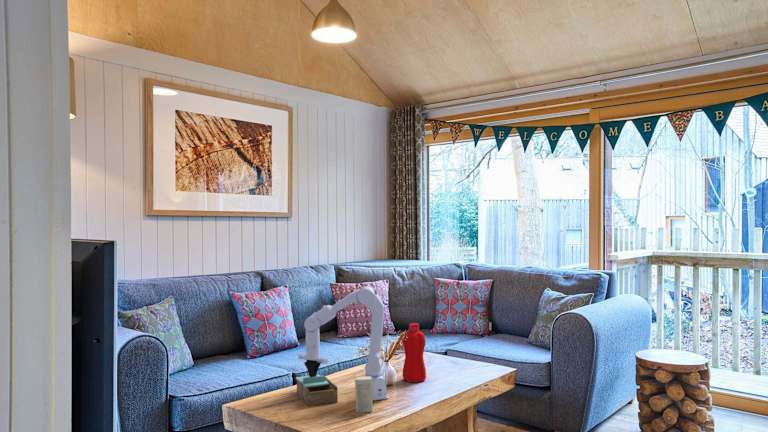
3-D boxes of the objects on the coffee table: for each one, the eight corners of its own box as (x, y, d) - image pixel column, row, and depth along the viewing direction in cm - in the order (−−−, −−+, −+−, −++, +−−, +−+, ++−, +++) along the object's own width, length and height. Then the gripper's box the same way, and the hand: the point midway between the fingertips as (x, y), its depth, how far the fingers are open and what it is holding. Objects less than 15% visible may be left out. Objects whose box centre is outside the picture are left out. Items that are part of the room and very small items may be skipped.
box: (337, 402, 225) (337, 386, 225) (307, 406, 220) (307, 390, 220) (325, 390, 239) (325, 376, 239) (296, 394, 235) (296, 379, 235)
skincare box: (372, 408, 217) (372, 375, 217) (372, 412, 213) (372, 379, 213) (355, 408, 217) (355, 376, 217) (355, 412, 213) (355, 379, 213)
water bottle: (396, 379, 256) (396, 323, 256) (417, 376, 261) (417, 320, 261) (407, 384, 248) (406, 326, 248) (428, 381, 253) (428, 324, 253)
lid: (329, 384, 231) (329, 378, 231) (304, 387, 227) (304, 381, 227) (319, 375, 244) (319, 369, 244) (295, 378, 240) (295, 372, 240)
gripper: (332, 345, 233) (332, 379, 233) (306, 341, 242) (306, 373, 242) (320, 349, 228) (321, 383, 228) (294, 344, 236) (294, 377, 236)
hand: (312, 378), depth 234 cm, fingers closed
